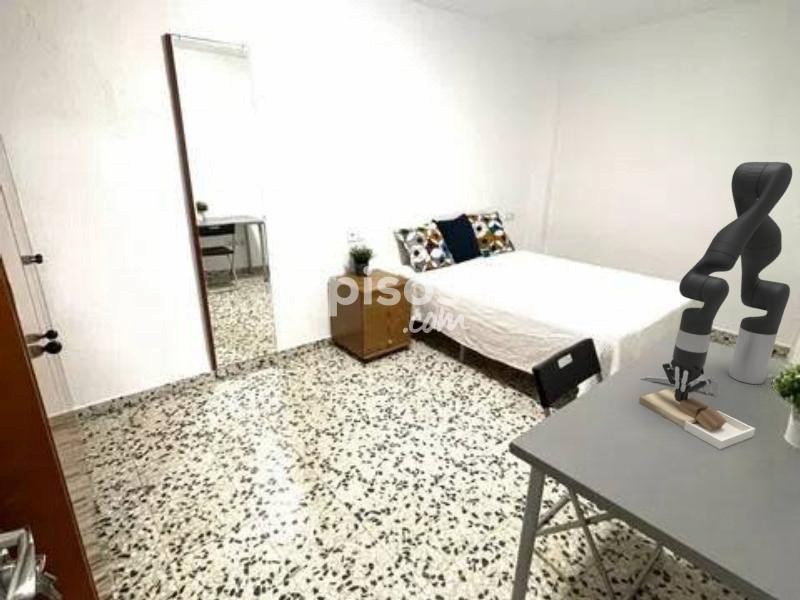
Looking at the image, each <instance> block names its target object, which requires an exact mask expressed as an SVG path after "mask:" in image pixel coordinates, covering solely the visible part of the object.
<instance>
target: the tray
mask: <svg viewBox="0 0 800 600" xmlns="http://www.w3.org/2000/svg"><path fill="white" fill-rule="evenodd" d="M716 412H717V413H719V414H720V415H721V416H722V417H723V418H724V419H725V420H727V422H726V423H725V424H724V425H723V426H722V427H721V428H719V429H716V430H714V431H711V432H709V431H708V430H707V429H706V428H705V427H704V426H702V425H701V424H700V423H696V424H691V423H690V422H688V421H686V422H685V426H684V428H683V430H685V431H686V432H688V433H689V434H692V435H693V436H695V437H697V438H699V440H702V441H703V442H706V443H707V444H710V445H711V446H712V447H715V448H716V449H719V450H721V449H725V448H726V447H730V446H732V445H736V444H737V443H740V442H743V441H745V440H748V439H750V438H751V439H752V438H753V437H754V436H755V435H754V434H755V431H756V428H755V427H753V426H750V425H749V424H748V423H747V424H746V423H744V422H742V421H741V420H739V419H736V418H735V417H733V416H730V415H728V414H726V413H724V412H722V411H719V410H716Z"/></svg>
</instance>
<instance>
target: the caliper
mask: <svg viewBox="0 0 800 600" xmlns="http://www.w3.org/2000/svg"><path fill="white" fill-rule="evenodd" d="M639 379H640V380H643V381H646V382H650V383H651V382H652V383H664V384H670V382H669V380H668V378H667V376H666V377H664V376H663V377H662V376H650V375H648V376H647V375H644V376H641V377H640V378H639ZM698 380H699V378H698V379H696V380H694V383H693V384H692V386H694V385H695V384H697V381H698ZM708 380H710V381H711V384H709V385H707V386H705V387H703V388H702V389H703V390H704V392H705V395H709V387H712V392H713V393H712V394H713V396H714V397H715V396H717V392H718V380H717V379H715V377H714V376H712V378H711V377H710V376H708ZM692 386H691V387H692Z"/></svg>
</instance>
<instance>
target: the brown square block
mask: <svg viewBox="0 0 800 600" xmlns="http://www.w3.org/2000/svg"><path fill="white" fill-rule="evenodd" d="M708 407H709V405H708V404H706V403H704V402H701V401H700V400H698V399H695V398H694V397H688V399H685V400H682V401H681V402H680V407H679V411H681V412H683V413H685V414H687V415H689V416H691V417H693V418H694V419H695V418H696V416H697V415H698V414H699V413H700V412H701V411H704V410H707V408H708Z"/></svg>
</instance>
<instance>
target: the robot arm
mask: <svg viewBox="0 0 800 600" xmlns="http://www.w3.org/2000/svg"><path fill="white" fill-rule="evenodd" d="M792 178H793V168H792V166H791V164H790V163H788V162H785V161H784V162H783V161H781V162H779V161H747V162H743V163H741V164H739V165H738V166H737V167H736V168H735V170H734V171H733V174H732V177H731V194H732V199H733V200H732V201H733V204H734V208H735V212H736V218H735V219H734V220H732V221H730V222H729V223H728V224H727V225H725V226H723V228H721V229H720V230H719V231H718V232H717V233H716V235H714V237H713V238H712V240H711V242H710V243H709V245H708V247H707V249H706V251H705V253H704V255H703V256H702V257H701V259H699V260H698V262H696V263H695V264H694V265H693V266H692V268H690V269H689V271H687V273H685V274H684V276H683V277H682V279H681V281H680V282H679V287H678V289H679V293H680V295H681V296H682V297H683V298H686V299H689V300H692V301H697V302H701V303H703V306H702V307H687V308H685V309H684V310H683V311H682V312H681V318H680V322H679V323H680V324H679V328H678V331H677V333H676V337H675V343H674V346H673V347H674V348H673V352H672V353H673V354H672V360H670V362H665V363H663V364H662V369H663V370H664V371H663V372H664V373H665V375H666V378H668V380H669V382H670V383H669V384H670V385H673V386H674V388H675V390H674V392H675V395H674V397H675V400H676V401H678V402H681V401H682V400H685V399H687V398H688V399H689V393H690V394H691V393H693V392H697V391H700V390H702V389H704V388H703V387H705V386H707V385H709V384H711V381H712V380H711V381H710V380H709V379H707V378H706V376H705V375H704V374H705V371H704V367H705V365H706V361H707V356H708V352H709V347H710V343H711V333H712V329H713V325H714V320H715V318H716V315H717V314H718V312H719V309H720V308H721V306H722V305H723V303H724V302H725V301H726V299H727V297H728V296H729V293H730V286H729V285H730V284H729V283H728V281H727V280H726V279H725V278H722V277H719V276H713V275H711V274H714V273H723V272H729V271H731V270H732V269H733V268H734V267H735V265H736V263H737V261H738V260H739V259H740V264H741V279H740V280H741V282H740V300H741V303H742V304H743V306H746V307H748V308H752V309H755V310H756V309H758V310H761V311H766V314H764V315H760V316H758V315H757V316H747V317H743V318H742V319H741V321H740V324H739V328H738V329H739V330H738V334H737V337H736V342H735V347H734V349H733V355H732V357H731V363H730V366H729V371H728V375H729V377H731V378H732V379H734V380H736V381H739V382H743V383H746V384H752V385H761V384H764V383H765V380H766V376H767V373H768V369H769V367H770V366H769V365H770V362H771V359H772V356H773V355H772V354H773V350H774V346H775V343H776V339H777V335H778V331H779V329H780V325H781V323H782V320H783V316H784V312H785V309H786V307H787V304H788V302H789V299H790V295H791V288H790V285H789V284H787V283H784V282H778V281H772V280H765V279H761V278H760V276H759V275H760V273H761V272H762V271H763V270H764V269H766V268H767V267H768V266H770V265H771V264H772V263H773V262H775V261H776V260H777V258H778V257H779V256H780V255H781V252H782V250H783V249H782V246H783V245H782V243H783V242H782V240H783V239H782V230H781V228H780V226H779V225H778V223H777V222H776V221H775V220H774V219H773V218H772V217H771V216H770V213H771V212H772V211H773V209H774V208H775V207H776V205H777V204H778V203H779V201H780V200H781V199H782V197H783V195H784V194H785V193H786V191H787V189H788V188H789V186H790V184H791V181H792ZM696 379H699V380H698V381H697V384H695V385H694V386H692V384H693V383H694V380H696ZM691 386H692V387H691Z"/></svg>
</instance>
